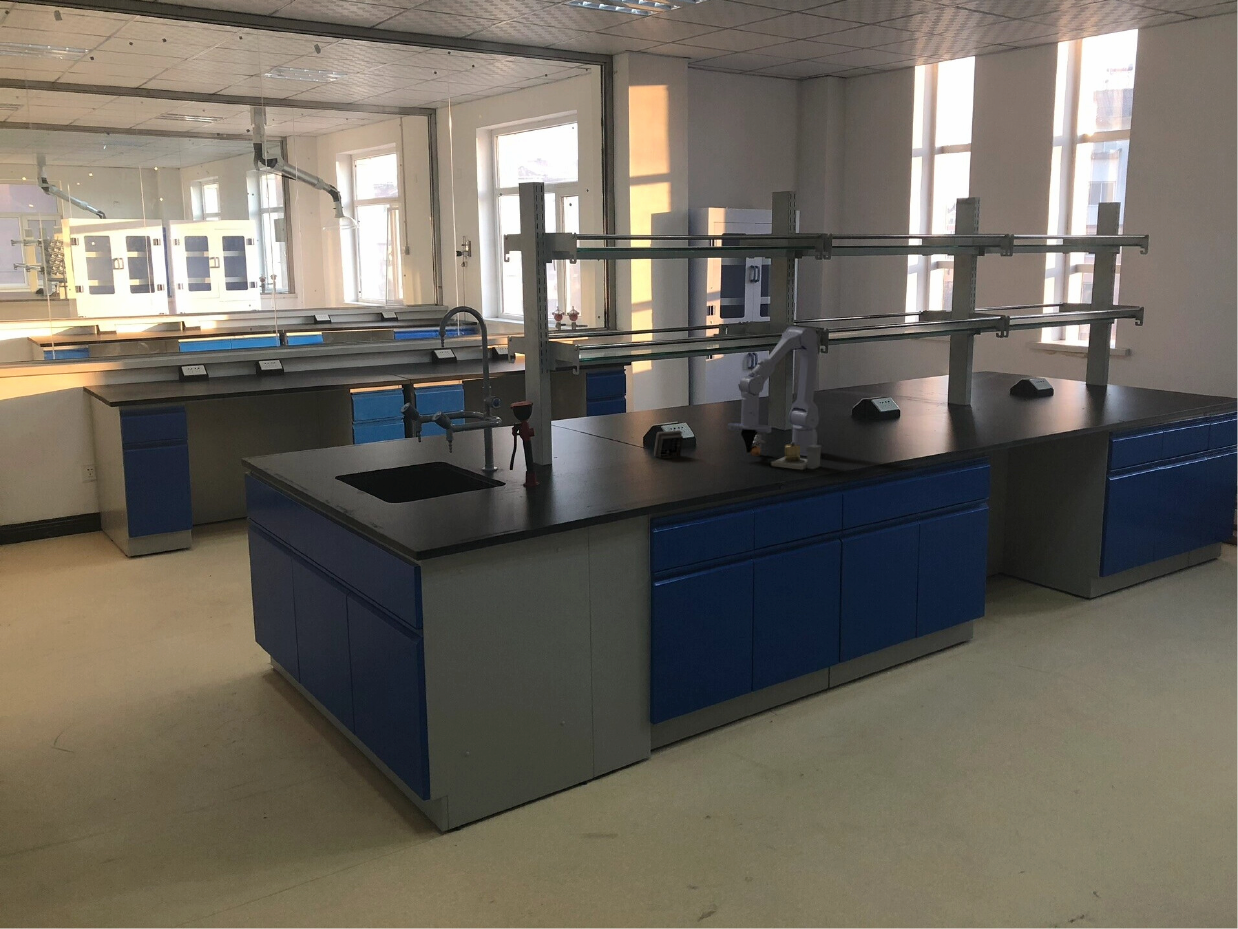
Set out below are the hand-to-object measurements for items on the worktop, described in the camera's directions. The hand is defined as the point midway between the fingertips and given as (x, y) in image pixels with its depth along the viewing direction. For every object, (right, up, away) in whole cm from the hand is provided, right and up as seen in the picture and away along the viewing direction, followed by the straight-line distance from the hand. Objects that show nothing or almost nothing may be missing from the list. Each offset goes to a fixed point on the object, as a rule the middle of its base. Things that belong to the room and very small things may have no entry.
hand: (748, 452), depth 342 cm
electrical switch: (-26, -2, +7) cm, 27 cm away
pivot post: (+4, -1, +10) cm, 10 cm away
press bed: (+15, -4, -7) cm, 17 cm away
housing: (+14, -3, -6) cm, 15 cm away
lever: (+3, -1, +3) cm, 4 cm away
